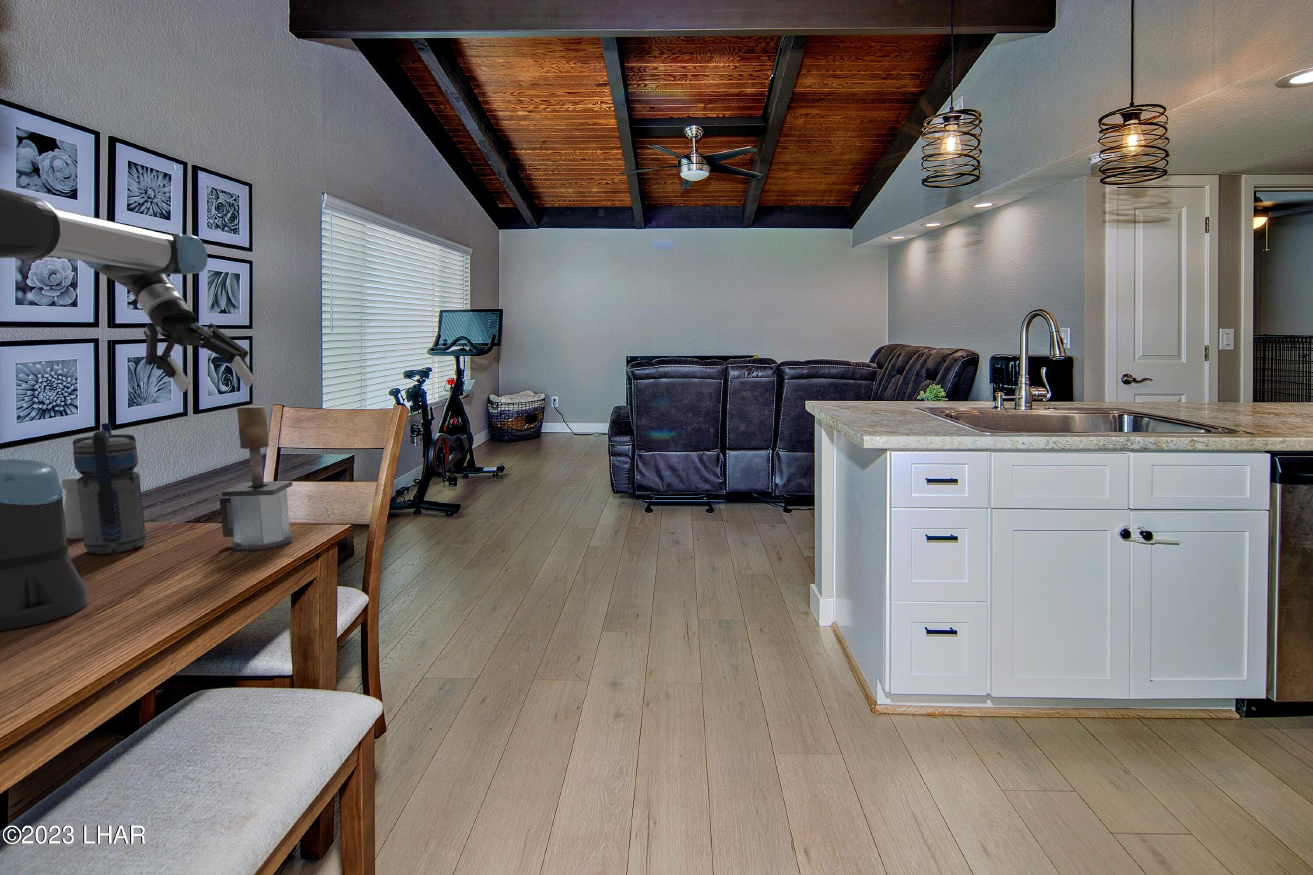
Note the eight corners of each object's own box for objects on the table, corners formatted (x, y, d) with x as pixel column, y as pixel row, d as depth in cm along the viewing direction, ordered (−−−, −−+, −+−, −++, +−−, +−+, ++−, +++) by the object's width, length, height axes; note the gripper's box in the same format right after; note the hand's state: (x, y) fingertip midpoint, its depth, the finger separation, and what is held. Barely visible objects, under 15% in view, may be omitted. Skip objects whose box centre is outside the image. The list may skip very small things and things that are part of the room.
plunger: (239, 488, 145) (232, 408, 143) (250, 484, 150) (243, 406, 148) (266, 488, 146) (259, 408, 144) (276, 483, 151) (269, 405, 149)
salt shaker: (83, 532, 161) (76, 474, 159) (104, 533, 159) (98, 474, 158) (56, 539, 155) (49, 479, 153) (78, 540, 154) (71, 480, 152)
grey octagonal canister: (213, 552, 144) (208, 492, 142) (239, 537, 154) (234, 482, 153) (280, 550, 145) (275, 490, 143) (301, 535, 156) (296, 480, 154)
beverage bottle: (79, 562, 139) (63, 431, 135) (89, 545, 150) (75, 424, 147) (144, 553, 144) (130, 427, 140) (149, 538, 155) (136, 421, 152)
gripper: (107, 295, 141) (162, 375, 137) (232, 299, 163) (282, 369, 159) (95, 323, 144) (148, 402, 140) (218, 323, 166) (267, 392, 162)
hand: (219, 385), depth 149 cm, fingers open, 13 cm apart
